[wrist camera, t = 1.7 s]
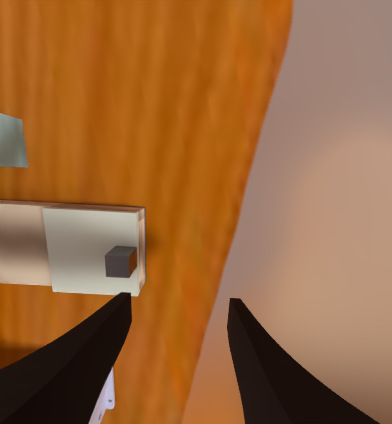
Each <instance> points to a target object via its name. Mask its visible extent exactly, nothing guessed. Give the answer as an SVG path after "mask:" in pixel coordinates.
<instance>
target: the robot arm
mask: <svg viewBox="0 0 392 424" xmlns="http://www.w3.org/2000/svg"><path fill="white" fill-rule="evenodd" d="M131 322H132V313H131V293H129V292H120V293H119V294H118V295H116V296H115V297H114V298H113V299H111V300H110V301H109V302H108V303H106V304H105V305H104V306H103V307H101V308H100V309H99V310H97V311H96V312H95V313H94V314H92V315H91V316H90V317H88V318H87V319H85V320H84V321H83V322H81V323H80V324H78V325H77V326H76V327H74V328H73V329H71V330H70V331H68V332H67V333H65V334H64V335H62V336H61V337H59V338H57V339H56V340H54V341H53V342H51V343H49V344H48V345H46V346H44V347H42V348H40V349H39V350H37V351H35V352H33V353H31V354H30V355H28V356H26V357H24V358H22V359H21V360H19V361H17V362H15V363H13V364H11V365H9V366H7V367H5V368H3V369H1V370H0V424H100V423H101V420H102V418H103V415H104V412H105V410H106V409H113V408H114V405H115V394H114V376H113V365H114V363H115V361H116V359H117V357H118V355H119V353H120V351H121V348H122V346H123V344H124V342H125V340H126V337H127V334H128V331H129V328H130V325H131ZM227 330H228V339H229V346H230V351H231V355H232V360H233V364H234V369H235V373H236V377H237V382H238V386H239V391H240V395H241V400H242V405H243V412H244V419H245V424H380V423H378V422H377V421H375V420H373V419H372V418H371V417H369V416H368V415H366V414H365V413H363V412H362V411H360V410H359V409H357V408H356V407H354V406H353V405H351V404H350V403H348V402H347V401H345V400H344V399H343V398H341V397H340V396H339V395H337V394H336V393H335V392H333V391H332V390H331V389H329V388H328V387H327V386H325V385H324V384H323V383H322V382H320V381H319V380H318V379H316V378H315V377H314V376H313V375H312V374H310V373H309V372H308V371H307V370H306V369H304V368H303V367H302V366H301V365H300V364H299V363H298V362H296V361H295V360H294V359H293V358H292V357H291V356H290V355H289V354H288V353H287V352H286V351H285V350H284V349H283V348H281V347H280V346H279V344H277V342H276V341H275V340H274V339H273V338H272V337H271V336H270V335H269V334H268V333H267V332H266V330H265V329H264V328H263V327H262V326H261V324H260V323H259V322H258V321H257V320H256V318H255V317H254V316H253V315H252V313H251V312H250V311H249V310H248V308H247V307H246V306H245V304H244V303H243V302H242V300H241V299H237V298H230V303H229V314H228V324H227Z"/></svg>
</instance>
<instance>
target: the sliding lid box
mask: <svg viewBox="0 0 392 424" xmlns="http://www.w3.org/2000/svg"><path fill="white" fill-rule="evenodd" d="M45 207H57V208H76V209H95V210H114V211H133V212H138V222H139V287H140V291H141V289H142V287H143V285H144V283H145V281H146V217H145V207H129V206H111V205H92V204H73V203H54V202H35V201H16V200H0V283H10V284H29V285H47V286H52V281H51V273H50V265H49V257H48V249H47V241H46V234H45V226H44V218H43V210H42V208H45Z"/></svg>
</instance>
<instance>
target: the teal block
mask: <svg viewBox="0 0 392 424" xmlns="http://www.w3.org/2000/svg"><path fill="white" fill-rule="evenodd" d="M0 166H3V167H28V162H27V154H26V147H25V140H24V132H23V125H22V120H21V119H17V118H14V117H11V116H8V115H4V114H1V113H0Z"/></svg>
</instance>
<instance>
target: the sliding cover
mask: <svg viewBox="0 0 392 424" xmlns="http://www.w3.org/2000/svg"><path fill="white" fill-rule="evenodd" d="M42 210H43V218H44V226H45V234H46V241H47V249H48V257H49V265H50V273H51V281H52V289H53V292H68V293H86V294H105V295H118V294H119V293H120V292H129V293H131V296H138V295H139V293H140V287H139V222H138V212H133V211H114V210H95V209H76V208H57V207H45V208H42Z"/></svg>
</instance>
